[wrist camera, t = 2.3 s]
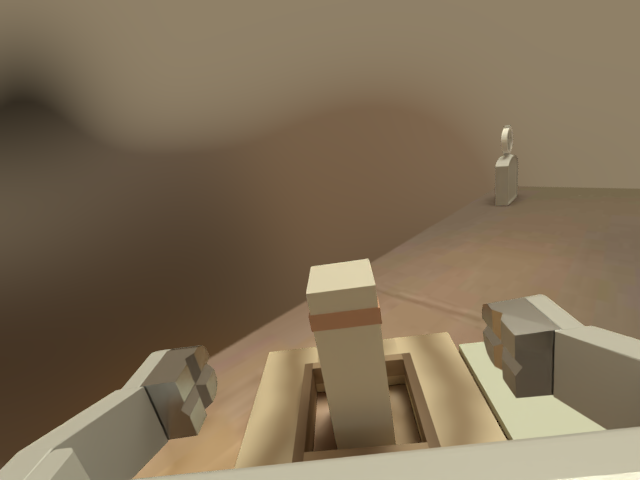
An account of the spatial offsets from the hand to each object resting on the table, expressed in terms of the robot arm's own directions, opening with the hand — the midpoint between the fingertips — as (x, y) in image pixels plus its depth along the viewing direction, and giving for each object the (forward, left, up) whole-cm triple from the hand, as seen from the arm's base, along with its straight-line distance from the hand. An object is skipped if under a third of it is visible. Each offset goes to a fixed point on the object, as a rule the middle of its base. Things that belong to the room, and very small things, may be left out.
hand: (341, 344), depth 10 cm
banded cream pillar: (0, +13, -18) cm, 22 cm away
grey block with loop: (+40, +75, -18) cm, 87 cm away
